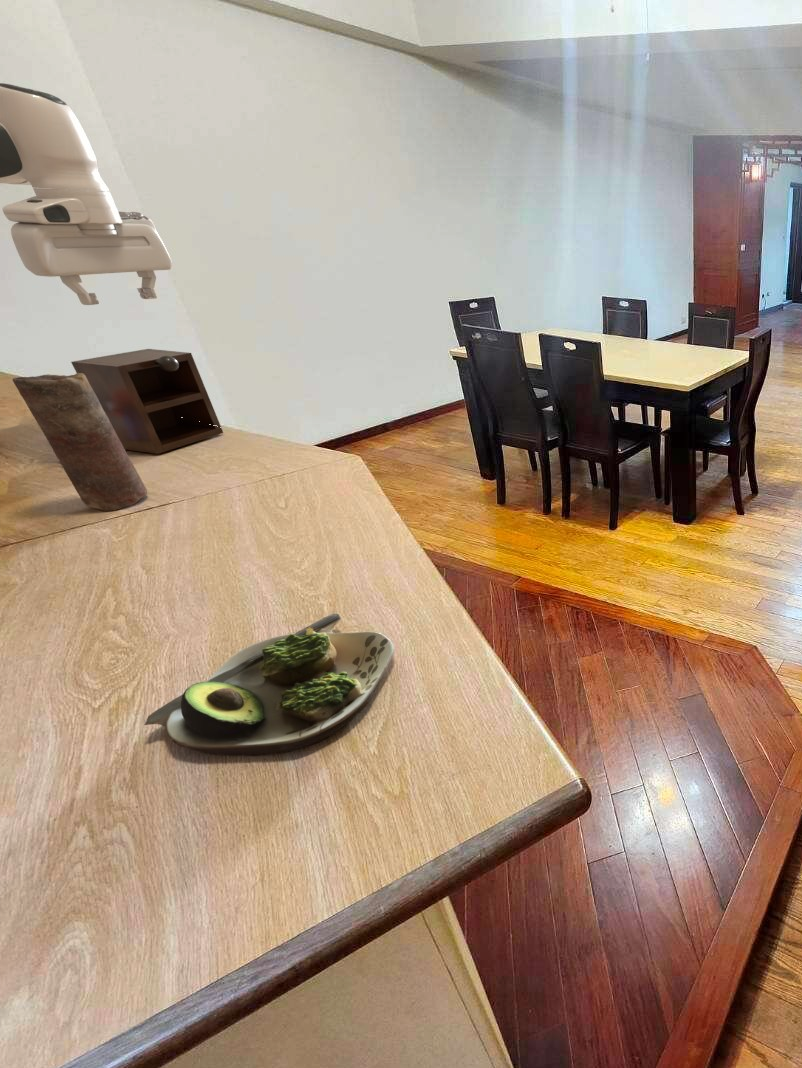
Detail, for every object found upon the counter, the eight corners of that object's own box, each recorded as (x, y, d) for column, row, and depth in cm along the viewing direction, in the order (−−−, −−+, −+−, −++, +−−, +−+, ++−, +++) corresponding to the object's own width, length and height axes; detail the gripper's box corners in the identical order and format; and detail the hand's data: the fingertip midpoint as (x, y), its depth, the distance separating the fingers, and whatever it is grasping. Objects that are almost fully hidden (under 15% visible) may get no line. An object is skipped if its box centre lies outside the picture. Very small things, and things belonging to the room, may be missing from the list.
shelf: (68, 357, 103) (133, 363, 101) (146, 344, 114) (206, 350, 112) (114, 448, 112) (175, 455, 110) (183, 428, 123) (239, 434, 121)
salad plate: (267, 626, 68) (252, 593, 66) (426, 626, 69) (417, 594, 67) (125, 760, 51) (98, 722, 49) (338, 757, 52) (322, 720, 50)
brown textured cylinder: (72, 508, 91) (-4, 377, 81) (125, 490, 97) (61, 366, 87) (110, 515, 89) (38, 382, 80) (161, 496, 96) (100, 371, 86)
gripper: (133, 211, 106) (167, 294, 113) (-13, 208, 88) (37, 306, 95) (163, 213, 105) (194, 296, 112) (21, 210, 87) (69, 309, 94)
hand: (121, 301), depth 103 cm, fingers open, 8 cm apart
